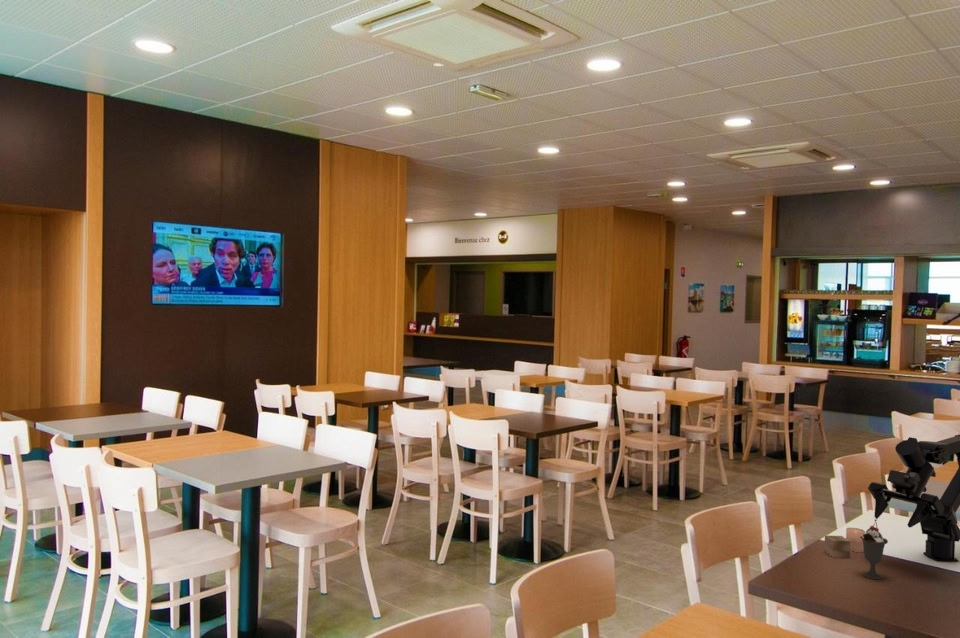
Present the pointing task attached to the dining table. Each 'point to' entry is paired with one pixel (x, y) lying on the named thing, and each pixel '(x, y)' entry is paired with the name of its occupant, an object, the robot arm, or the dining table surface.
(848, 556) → the walnut block
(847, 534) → the pink block
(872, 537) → the sundae
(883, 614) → the dining table surface
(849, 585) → the dining table surface
